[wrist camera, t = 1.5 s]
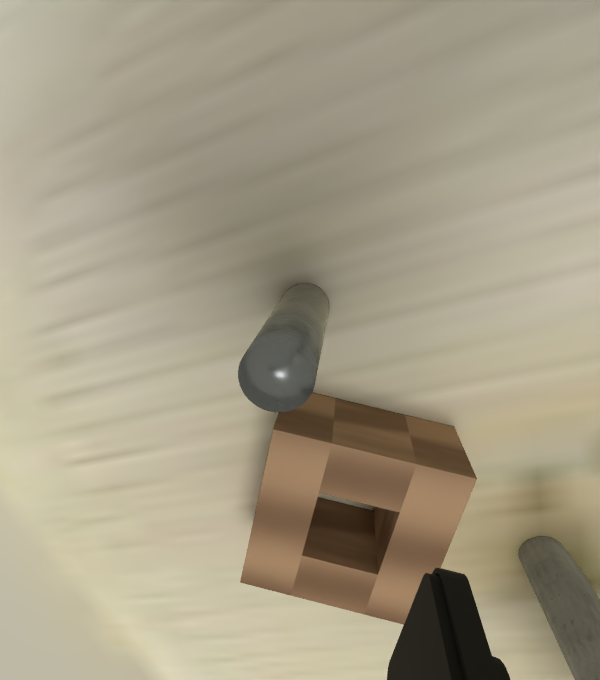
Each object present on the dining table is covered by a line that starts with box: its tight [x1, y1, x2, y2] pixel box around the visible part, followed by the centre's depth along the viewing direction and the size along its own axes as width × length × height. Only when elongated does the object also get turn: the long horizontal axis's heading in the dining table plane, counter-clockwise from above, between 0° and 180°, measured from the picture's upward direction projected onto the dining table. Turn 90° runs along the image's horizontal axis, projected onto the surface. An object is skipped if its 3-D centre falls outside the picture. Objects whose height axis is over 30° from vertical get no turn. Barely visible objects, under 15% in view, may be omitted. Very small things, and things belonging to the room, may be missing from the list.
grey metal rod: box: [238, 283, 329, 412], centre depth 24 cm, size 3×3×12 cm
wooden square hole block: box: [240, 393, 477, 624], centre depth 31 cm, size 12×12×6 cm
